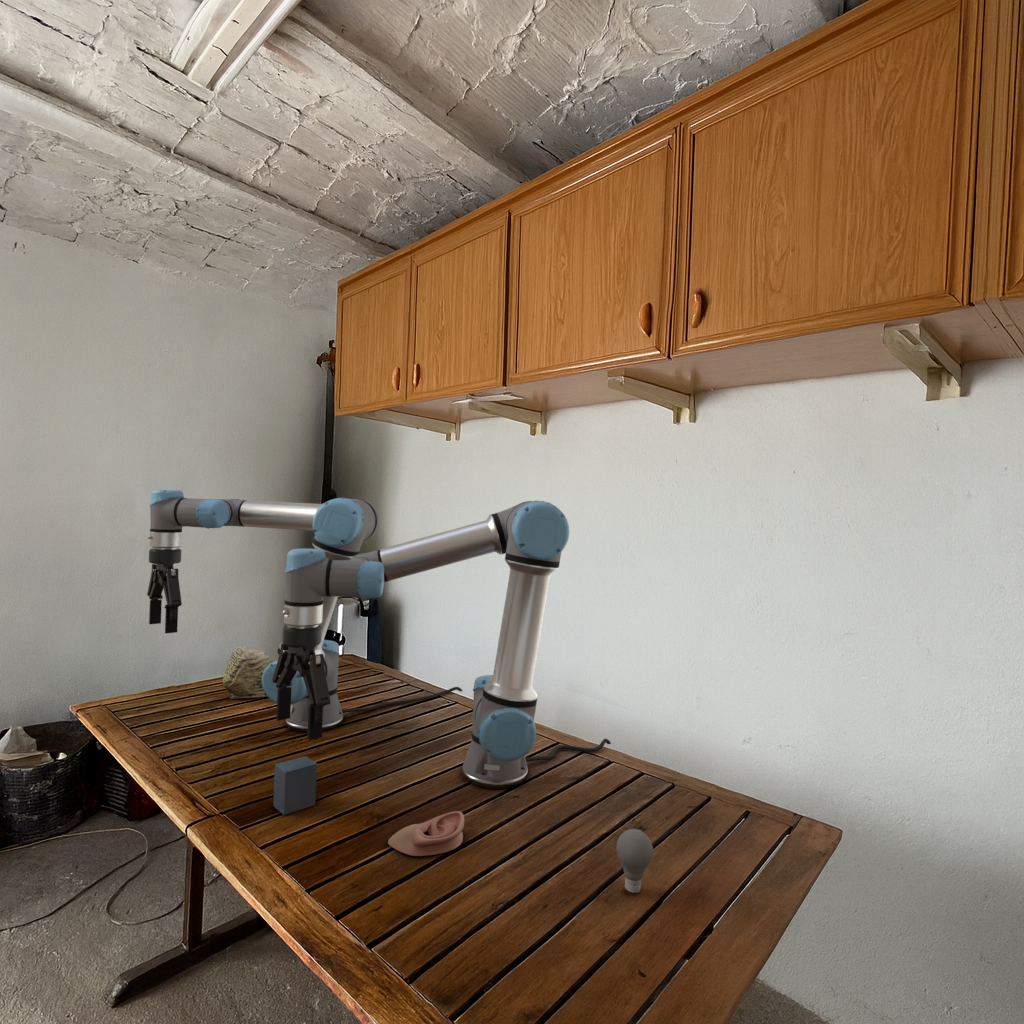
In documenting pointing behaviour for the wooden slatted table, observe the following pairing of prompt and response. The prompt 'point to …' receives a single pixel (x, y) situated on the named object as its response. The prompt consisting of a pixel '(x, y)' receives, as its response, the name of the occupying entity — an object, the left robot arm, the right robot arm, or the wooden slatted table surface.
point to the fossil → (246, 673)
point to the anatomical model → (430, 835)
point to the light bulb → (634, 857)
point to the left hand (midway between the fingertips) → (162, 628)
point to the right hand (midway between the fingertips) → (298, 728)
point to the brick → (294, 785)
